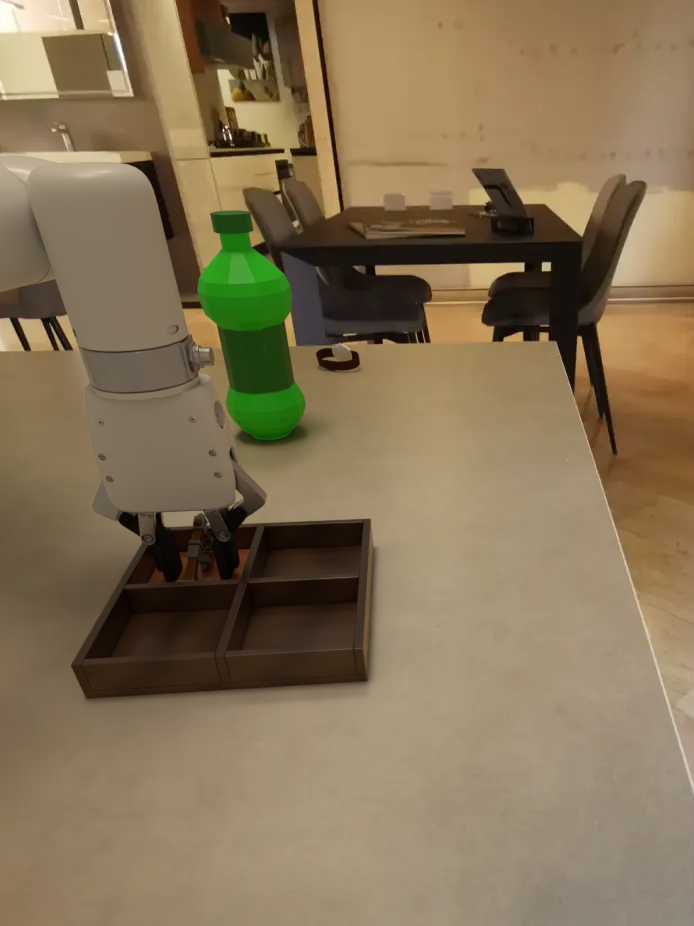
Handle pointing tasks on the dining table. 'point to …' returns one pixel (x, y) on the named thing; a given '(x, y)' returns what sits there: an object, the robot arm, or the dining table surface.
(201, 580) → the grid
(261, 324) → the plastic bottle
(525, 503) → the dining table surface
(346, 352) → the watch
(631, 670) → the dining table surface
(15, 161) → the robot arm
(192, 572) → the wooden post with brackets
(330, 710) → the dining table surface
